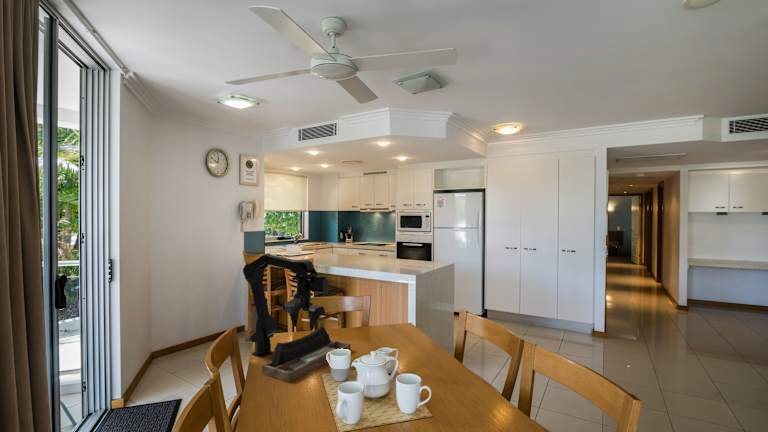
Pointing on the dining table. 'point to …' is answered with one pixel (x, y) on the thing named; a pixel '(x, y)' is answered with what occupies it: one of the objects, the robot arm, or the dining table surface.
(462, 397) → the dining table surface
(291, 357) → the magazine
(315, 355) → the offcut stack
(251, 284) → the robot arm
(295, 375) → the tray
